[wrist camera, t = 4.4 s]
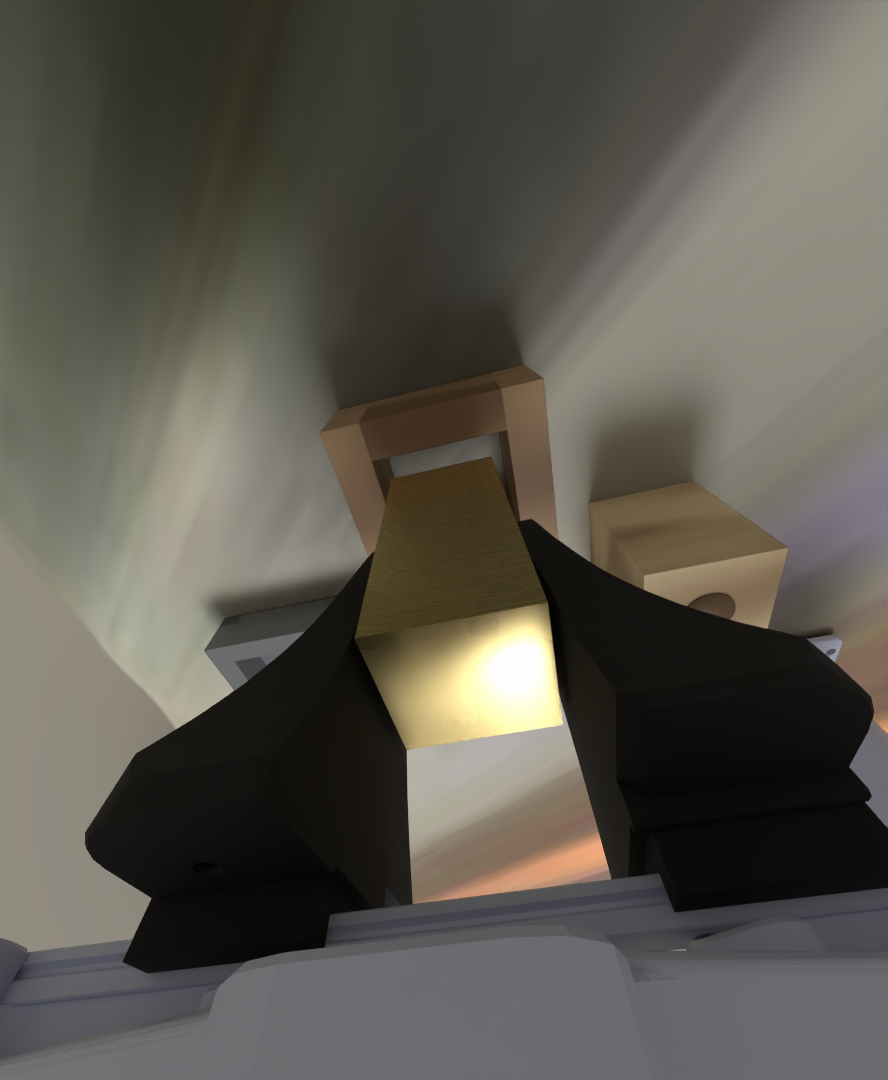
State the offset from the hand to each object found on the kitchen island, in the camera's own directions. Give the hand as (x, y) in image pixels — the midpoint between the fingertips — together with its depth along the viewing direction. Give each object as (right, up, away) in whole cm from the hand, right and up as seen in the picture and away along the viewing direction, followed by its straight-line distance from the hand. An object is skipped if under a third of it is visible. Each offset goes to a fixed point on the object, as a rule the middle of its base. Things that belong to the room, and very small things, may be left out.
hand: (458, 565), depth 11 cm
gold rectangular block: (0, +2, +2) cm, 3 cm away
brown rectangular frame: (0, +3, +6) cm, 7 cm away
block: (+9, +1, +8) cm, 12 cm away
